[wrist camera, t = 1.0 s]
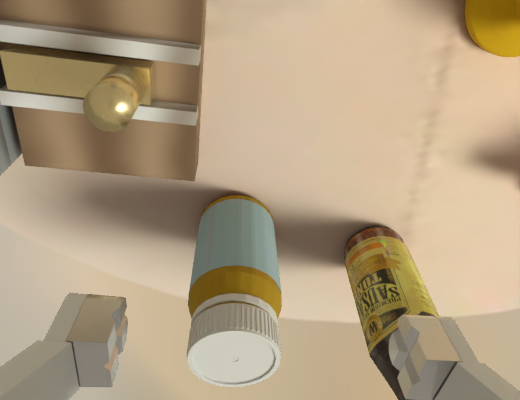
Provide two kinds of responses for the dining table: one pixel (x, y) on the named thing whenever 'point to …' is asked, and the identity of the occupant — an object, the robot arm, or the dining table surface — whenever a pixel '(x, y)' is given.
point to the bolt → (83, 81)
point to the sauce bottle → (384, 292)
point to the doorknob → (494, 25)
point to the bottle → (235, 295)
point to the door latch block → (71, 108)
